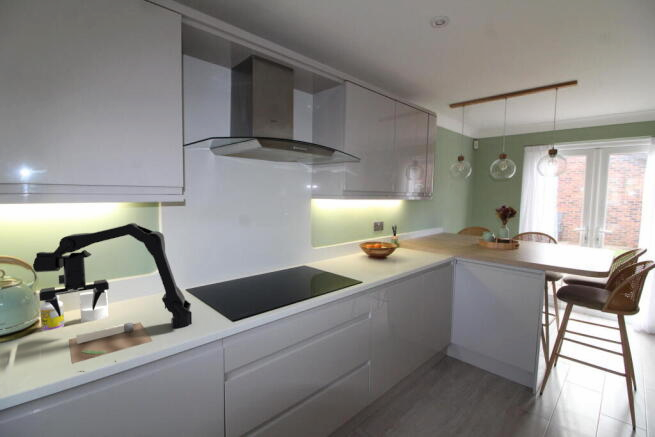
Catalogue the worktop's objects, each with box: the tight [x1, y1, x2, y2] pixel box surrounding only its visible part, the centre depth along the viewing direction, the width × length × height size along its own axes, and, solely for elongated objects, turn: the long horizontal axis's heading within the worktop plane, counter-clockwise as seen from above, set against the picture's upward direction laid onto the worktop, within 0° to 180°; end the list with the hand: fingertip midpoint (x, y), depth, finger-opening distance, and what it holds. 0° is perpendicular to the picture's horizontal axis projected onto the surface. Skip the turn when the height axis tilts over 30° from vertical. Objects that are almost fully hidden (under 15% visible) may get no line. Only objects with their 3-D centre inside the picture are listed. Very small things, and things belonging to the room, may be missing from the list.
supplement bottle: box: [40, 295, 65, 332], centre depth 118 cm, size 7×7×13 cm
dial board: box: [68, 321, 153, 365], centre depth 108 cm, size 22×20×2 cm
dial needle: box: [76, 322, 134, 344], centre depth 110 cm, size 16×3×3 cm, turn 132°
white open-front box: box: [79, 290, 109, 324], centre depth 127 cm, size 9×9×12 cm
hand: (77, 312), depth 109 cm, fingers open, 9 cm apart
